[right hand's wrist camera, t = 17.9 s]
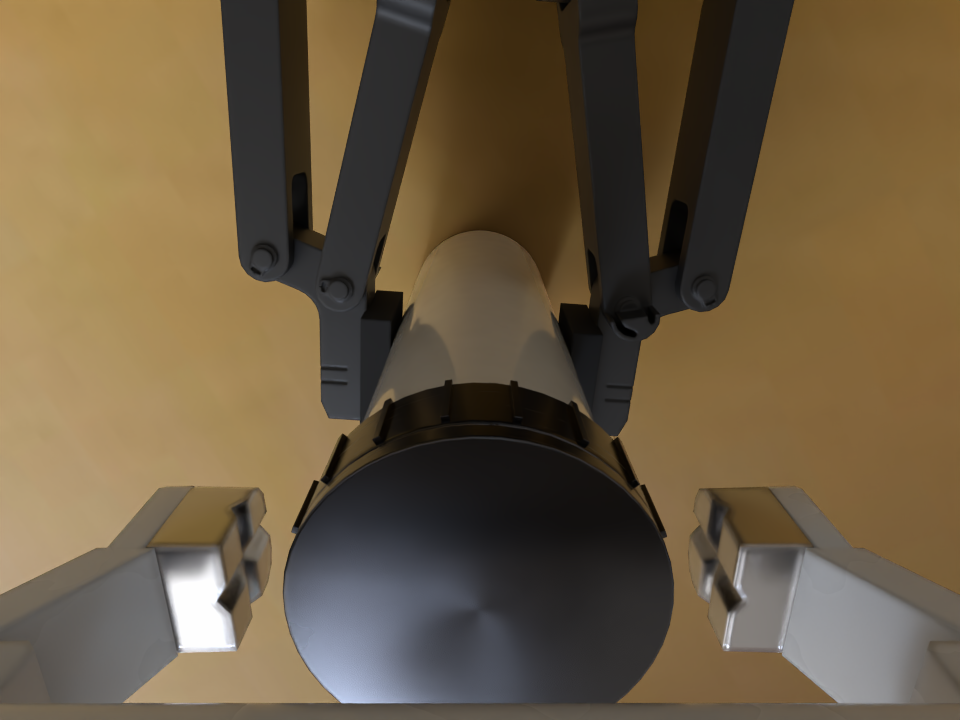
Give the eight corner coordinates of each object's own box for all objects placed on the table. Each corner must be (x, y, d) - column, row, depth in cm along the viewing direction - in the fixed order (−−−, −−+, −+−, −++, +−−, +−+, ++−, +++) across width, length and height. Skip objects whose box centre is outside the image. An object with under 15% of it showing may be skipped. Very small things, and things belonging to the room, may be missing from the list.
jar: (420, 354, 24) (334, 700, 10) (412, 231, 22) (297, 437, 8) (541, 350, 24) (631, 694, 10) (543, 228, 22) (652, 429, 8)
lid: (567, 692, 11) (581, 788, 10) (272, 607, 11) (235, 695, 9) (708, 445, 9) (755, 513, 8) (365, 325, 9) (340, 371, 7)
